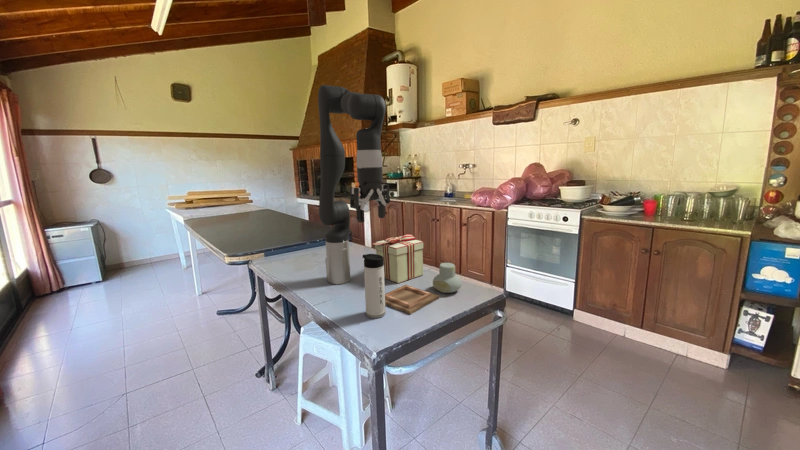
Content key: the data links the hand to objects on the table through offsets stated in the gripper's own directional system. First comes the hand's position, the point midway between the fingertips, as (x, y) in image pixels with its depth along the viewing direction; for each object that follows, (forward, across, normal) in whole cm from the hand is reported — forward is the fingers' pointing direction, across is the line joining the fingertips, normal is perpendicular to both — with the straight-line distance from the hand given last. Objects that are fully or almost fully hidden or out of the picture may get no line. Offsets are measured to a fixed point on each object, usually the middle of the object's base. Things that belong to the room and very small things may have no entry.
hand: (371, 219), depth 99 cm
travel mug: (+31, 0, 0) cm, 31 cm away
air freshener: (+31, -31, +7) cm, 45 cm away
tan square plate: (+31, -15, +1) cm, 34 cm away
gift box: (+31, -31, -19) cm, 48 cm away
